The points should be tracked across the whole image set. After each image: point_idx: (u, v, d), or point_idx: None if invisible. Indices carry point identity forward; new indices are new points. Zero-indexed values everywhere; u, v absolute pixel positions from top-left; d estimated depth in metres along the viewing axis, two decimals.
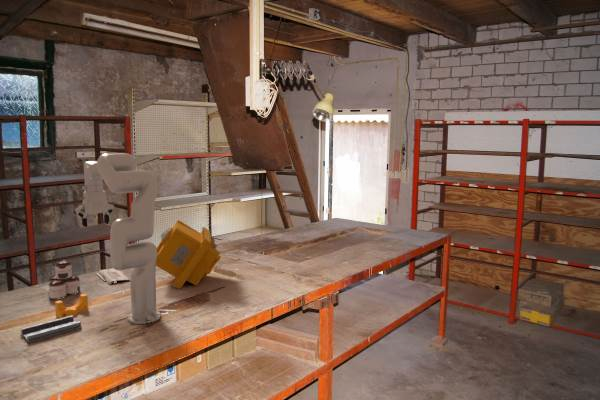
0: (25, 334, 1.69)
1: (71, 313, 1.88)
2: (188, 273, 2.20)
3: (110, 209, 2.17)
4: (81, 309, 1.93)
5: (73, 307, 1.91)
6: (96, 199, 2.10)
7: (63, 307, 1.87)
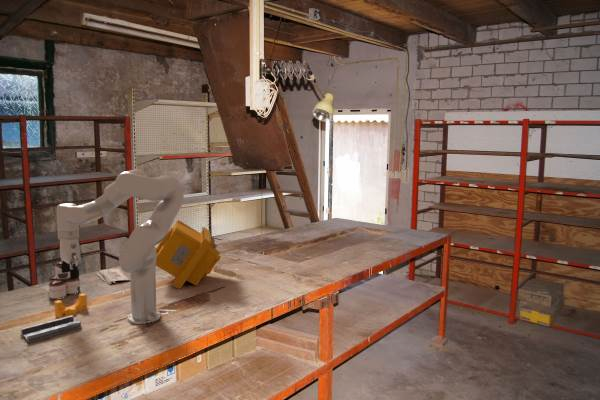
0: (25, 334, 1.69)
1: (70, 313, 1.89)
2: (188, 273, 2.20)
3: None
4: (80, 309, 1.94)
5: (72, 307, 1.92)
6: None
7: (62, 307, 1.88)
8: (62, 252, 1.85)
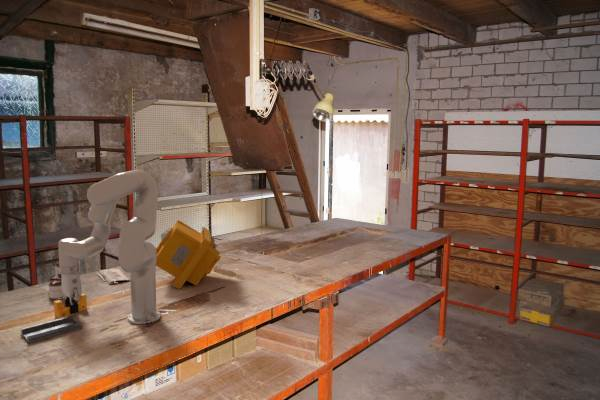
0: (25, 334, 1.69)
1: None
2: (188, 273, 2.20)
3: None
4: (80, 308, 1.93)
5: None
6: None
7: (62, 307, 1.87)
8: (64, 286, 1.88)
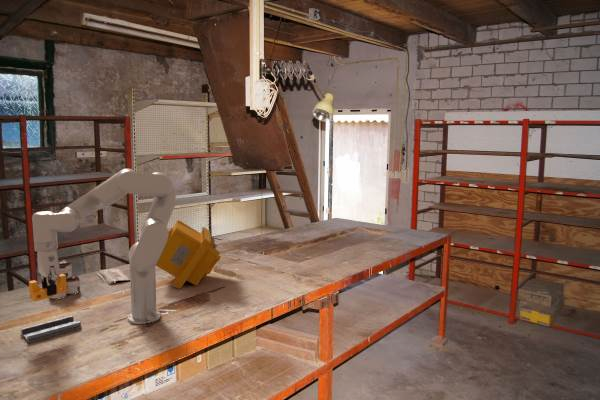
0: (25, 334, 1.69)
1: None
2: (188, 273, 2.20)
3: None
4: (59, 291, 1.74)
5: None
6: None
7: (38, 288, 1.68)
8: (40, 265, 1.69)
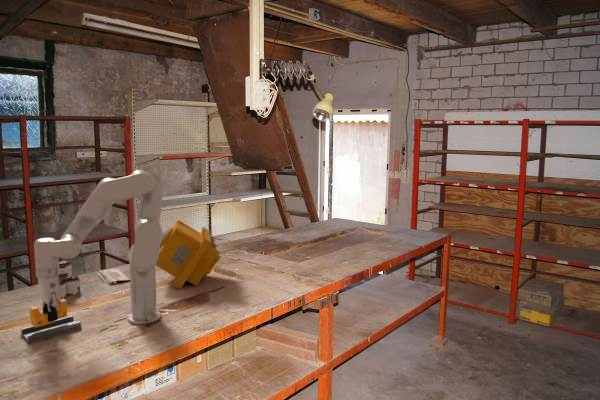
0: (25, 334, 1.69)
1: (47, 320, 1.70)
2: (188, 273, 2.20)
3: None
4: (59, 316, 1.75)
5: None
6: None
7: (39, 314, 1.69)
8: (41, 291, 1.70)
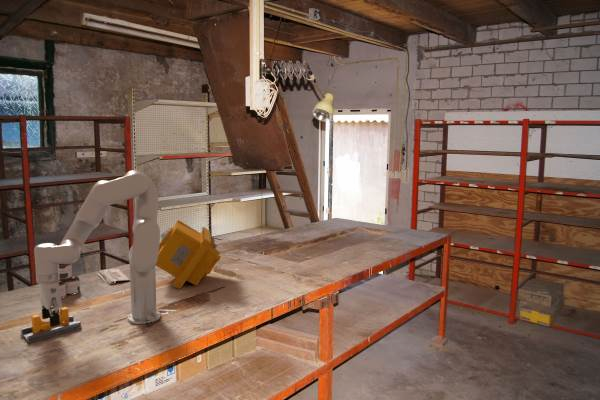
0: (25, 334, 1.69)
1: (49, 328, 1.71)
2: (188, 273, 2.20)
3: None
4: (61, 324, 1.76)
5: None
6: None
7: (40, 322, 1.70)
8: (41, 296, 1.70)
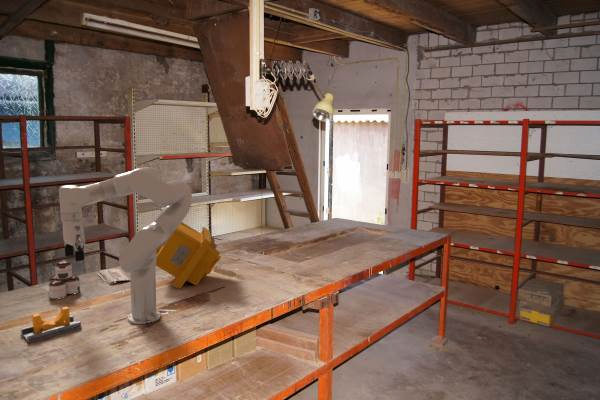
0: (25, 334, 1.69)
1: (49, 328, 1.72)
2: (188, 273, 2.20)
3: None
4: (62, 323, 1.76)
5: (53, 321, 1.75)
6: None
7: (40, 321, 1.71)
8: (66, 235, 1.83)
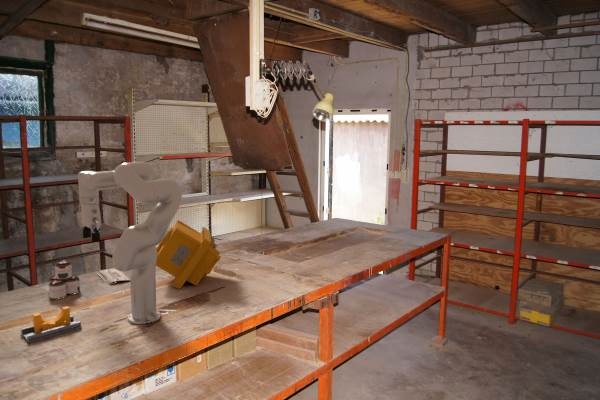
0: (25, 334, 1.69)
1: (49, 327, 1.72)
2: (188, 273, 2.20)
3: None
4: (62, 323, 1.77)
5: (53, 320, 1.75)
6: None
7: (41, 320, 1.71)
8: (84, 217, 1.95)
